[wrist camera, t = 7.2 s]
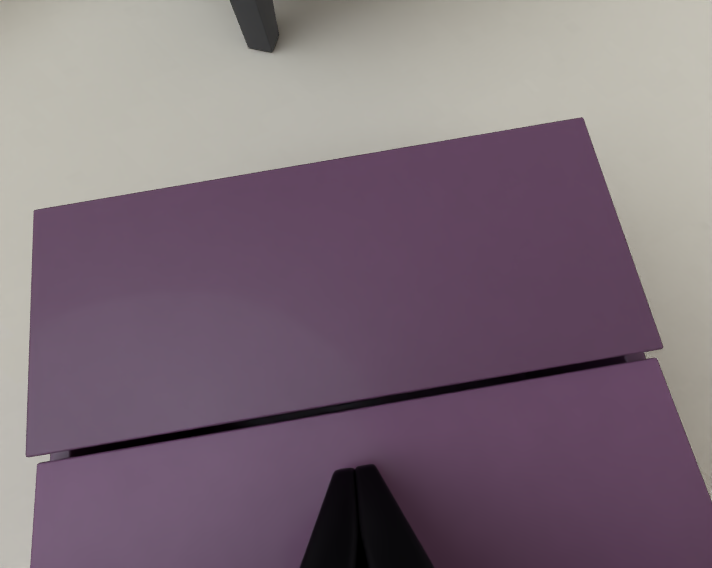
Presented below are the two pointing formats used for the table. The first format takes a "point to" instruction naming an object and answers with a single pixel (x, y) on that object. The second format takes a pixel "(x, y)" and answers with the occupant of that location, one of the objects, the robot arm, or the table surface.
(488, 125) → the table surface
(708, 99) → the table surface
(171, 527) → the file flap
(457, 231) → the box
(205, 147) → the table surface
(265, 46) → the planter
